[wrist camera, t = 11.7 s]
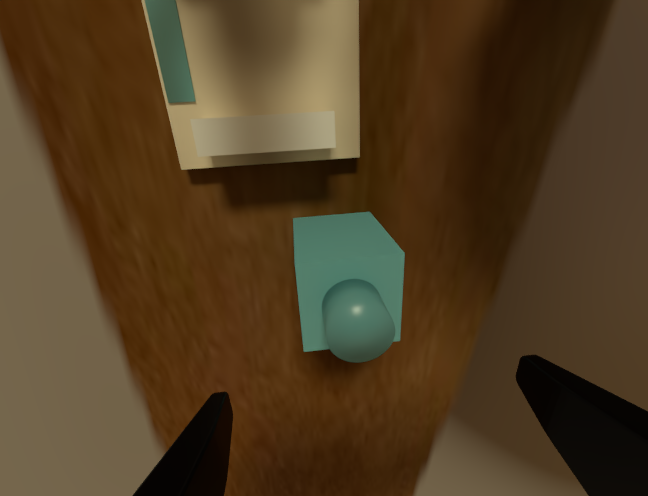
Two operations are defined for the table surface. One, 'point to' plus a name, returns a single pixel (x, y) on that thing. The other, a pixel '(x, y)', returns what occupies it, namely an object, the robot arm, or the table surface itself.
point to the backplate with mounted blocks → (258, 79)
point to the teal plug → (348, 285)
